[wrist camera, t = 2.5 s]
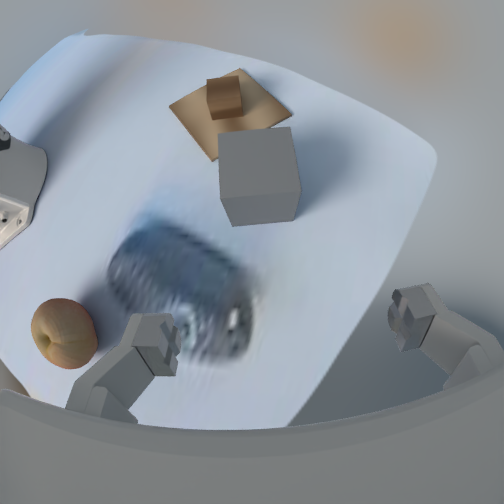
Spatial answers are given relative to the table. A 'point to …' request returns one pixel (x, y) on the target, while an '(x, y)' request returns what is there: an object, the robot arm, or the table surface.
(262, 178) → the plain grey cube
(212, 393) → the table surface
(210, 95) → the walnut block
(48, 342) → the fruit
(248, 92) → the cork mat
